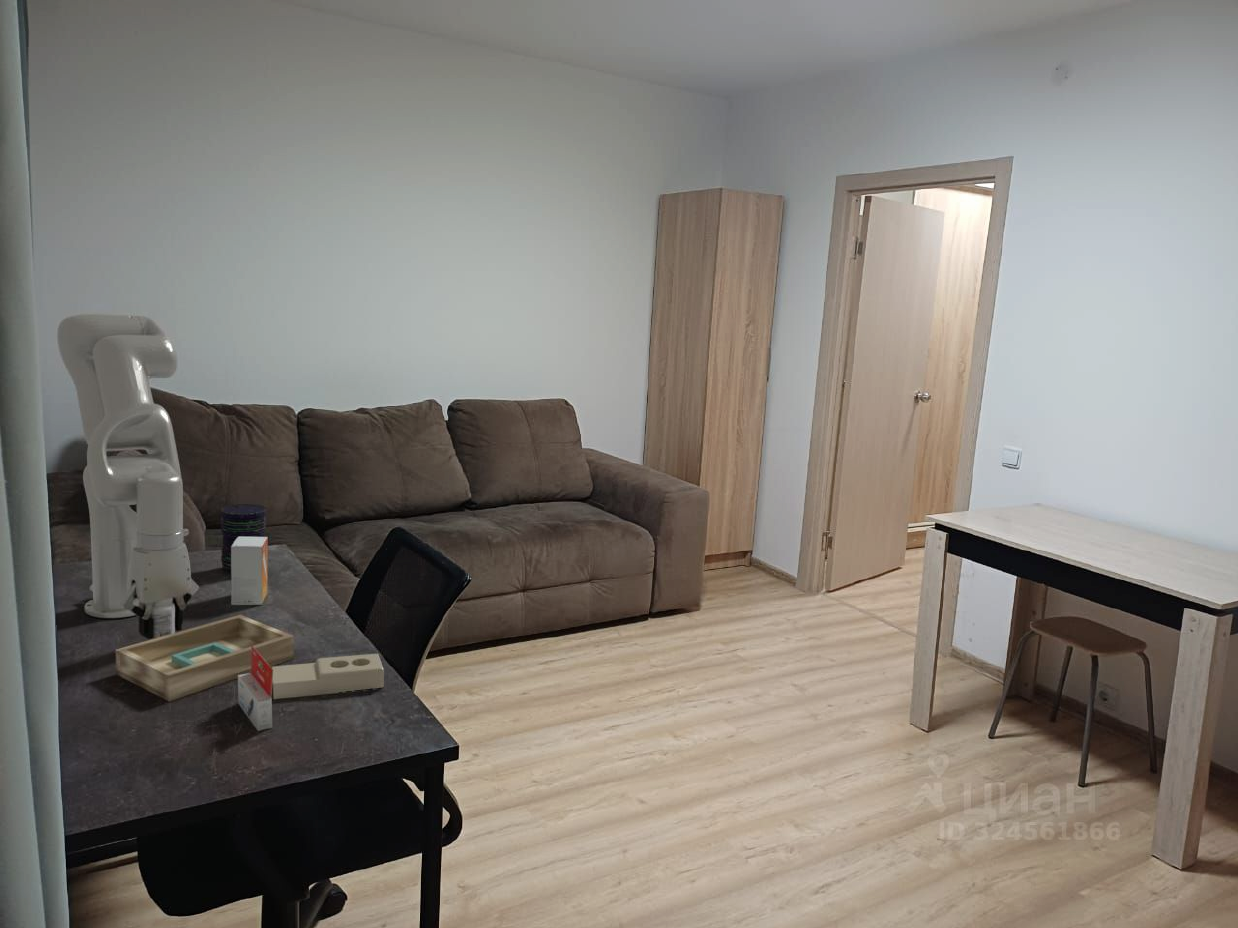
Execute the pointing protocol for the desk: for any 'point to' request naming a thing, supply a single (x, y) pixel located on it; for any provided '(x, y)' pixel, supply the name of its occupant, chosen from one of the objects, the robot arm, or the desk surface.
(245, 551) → the small box
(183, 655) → the collar
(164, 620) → the pill bottle
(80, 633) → the desk surface
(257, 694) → the ink cartridge box
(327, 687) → the beige stepped holder block
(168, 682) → the walled box
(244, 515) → the storage jar
